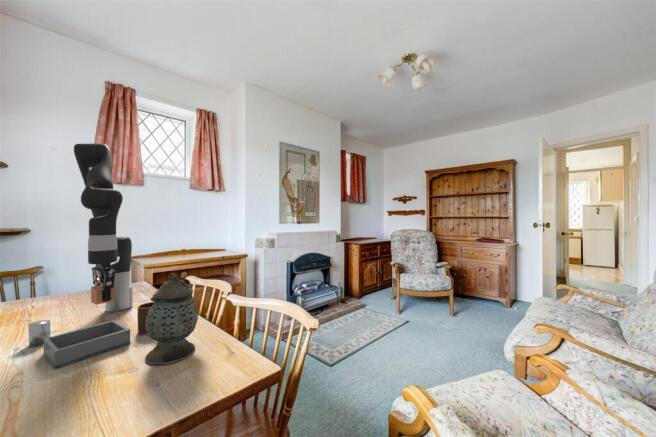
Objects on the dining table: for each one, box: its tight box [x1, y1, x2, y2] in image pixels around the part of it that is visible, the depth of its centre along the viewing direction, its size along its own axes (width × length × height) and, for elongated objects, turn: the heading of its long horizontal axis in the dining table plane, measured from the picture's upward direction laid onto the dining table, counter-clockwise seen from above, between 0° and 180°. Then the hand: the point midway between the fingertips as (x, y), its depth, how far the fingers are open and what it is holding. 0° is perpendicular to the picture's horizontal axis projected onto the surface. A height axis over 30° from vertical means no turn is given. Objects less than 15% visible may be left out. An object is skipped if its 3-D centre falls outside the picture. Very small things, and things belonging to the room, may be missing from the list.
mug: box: [137, 301, 155, 335], centre depth 100 cm, size 12×8×9 cm, turn 59°
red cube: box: [90, 284, 115, 305], centre depth 90 cm, size 5×5×5 cm
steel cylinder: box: [27, 319, 51, 348], centre depth 91 cm, size 5×5×7 cm
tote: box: [42, 319, 131, 370], centre depth 87 cm, size 18×14×5 cm
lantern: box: [144, 272, 199, 367], centre depth 84 cm, size 14×14×25 cm
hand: (103, 299), depth 90 cm, fingers closed on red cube, 5 cm apart
